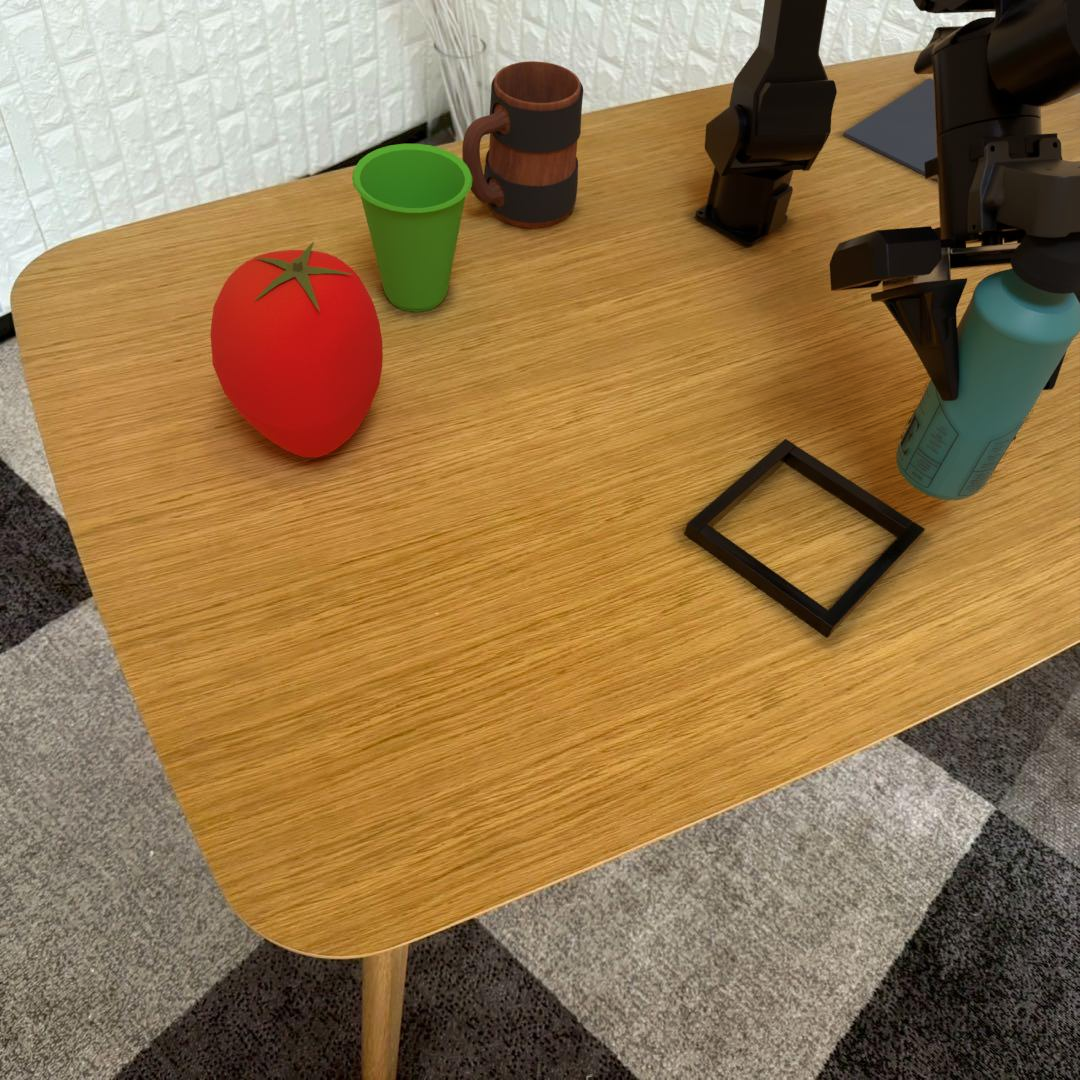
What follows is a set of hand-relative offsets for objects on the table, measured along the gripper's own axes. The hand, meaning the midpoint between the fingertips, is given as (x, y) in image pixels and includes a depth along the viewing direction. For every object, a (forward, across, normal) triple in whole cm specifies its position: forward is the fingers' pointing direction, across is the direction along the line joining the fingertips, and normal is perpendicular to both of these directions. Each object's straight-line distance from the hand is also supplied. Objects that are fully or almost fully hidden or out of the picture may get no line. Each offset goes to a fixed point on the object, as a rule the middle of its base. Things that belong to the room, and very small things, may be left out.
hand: (997, 395), depth 62 cm
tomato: (-2, -42, +22) cm, 47 cm away
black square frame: (+9, -9, +10) cm, 16 cm away
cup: (-12, -32, +32) cm, 46 cm away
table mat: (-26, +27, +46) cm, 60 cm away
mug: (-20, -21, +40) cm, 49 cm away
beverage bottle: (+6, 0, +8) cm, 10 cm away
